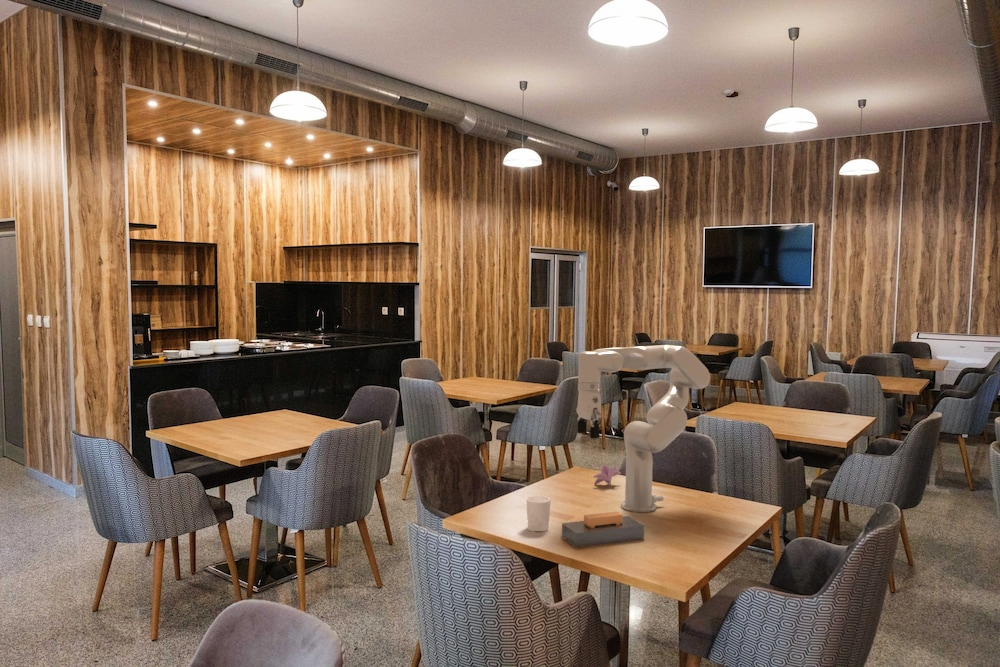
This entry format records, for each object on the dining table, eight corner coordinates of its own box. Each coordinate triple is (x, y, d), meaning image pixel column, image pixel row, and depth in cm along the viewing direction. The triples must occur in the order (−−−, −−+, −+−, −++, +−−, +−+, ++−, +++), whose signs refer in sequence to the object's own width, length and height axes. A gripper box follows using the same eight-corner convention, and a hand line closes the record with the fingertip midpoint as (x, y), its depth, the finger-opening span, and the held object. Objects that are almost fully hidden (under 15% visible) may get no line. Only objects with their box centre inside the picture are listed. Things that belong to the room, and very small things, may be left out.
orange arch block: (616, 534, 229) (616, 511, 228) (622, 537, 226) (622, 514, 225) (583, 538, 225) (583, 515, 224) (588, 542, 221) (589, 518, 221)
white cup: (533, 534, 228) (534, 503, 228) (521, 526, 235) (522, 497, 235) (554, 530, 232) (555, 500, 231) (542, 523, 239) (542, 494, 238)
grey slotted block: (627, 529, 234) (628, 515, 234) (643, 539, 224) (644, 525, 224) (561, 537, 226) (562, 523, 225) (575, 547, 216) (576, 533, 216)
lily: (625, 487, 289) (618, 465, 292) (626, 483, 278) (618, 460, 281) (597, 496, 289) (590, 473, 293) (596, 492, 278) (589, 468, 282)
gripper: (610, 389, 239) (609, 439, 240) (587, 383, 256) (586, 430, 257) (590, 390, 237) (589, 441, 238) (568, 384, 253) (567, 431, 254)
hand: (588, 435), depth 247 cm, fingers open, 9 cm apart
